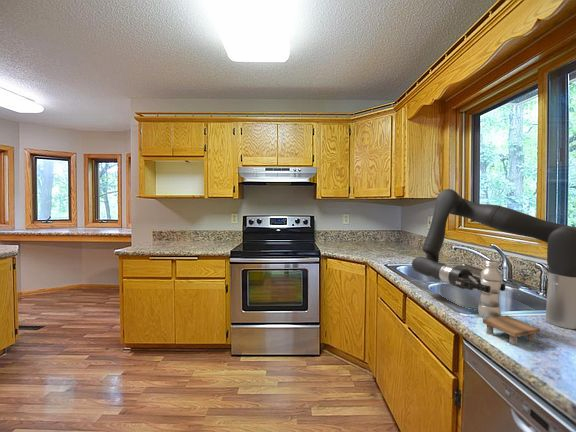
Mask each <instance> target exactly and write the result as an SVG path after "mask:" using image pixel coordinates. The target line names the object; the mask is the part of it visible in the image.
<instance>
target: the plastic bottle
mask: <svg viewBox="0 0 576 432" xmlns="http://www.w3.org/2000/svg"><path fill="white" fill-rule="evenodd" d="M498 268H499V261H498V260H496V259H495V260H494V259H486V260H484V268H483V269H482V270H481V271H480V274H479V277H480V282H481V284H484V285H487V286H490V293H487V292H484V291H481V290H480V296H479V303H478V307H477V311H478V314H479V316H480V317H482V318H483V319H487V318H494V317H500V316H501V314H502V311H501V306H500V304H501V302H500V297H501V296H500V293H501V290H500V288H501V284H503V274H502V273H501V271H500V270H499V269H498Z"/></svg>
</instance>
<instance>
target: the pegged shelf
mask: <svg viewBox="0 0 576 432" xmlns="http://www.w3.org/2000/svg"><path fill="white" fill-rule="evenodd" d="M482 323H483V324H485V325H486V334H487V335H494V329H496V330H498V331H499V332H503V333H505V334H507V335H509V343H508V344H509V345H511V346H514V347H516V346H518V337H523V336H524V337H525V336H526V341H527V342H530V343H536V334H539V333H541V328H540V327H537V326H533V325H532V324H529V323H527V322H524V321H521V320H519V319H516V318H514V317H512V316H511V317H510V316H508V315H502V316H501V315H500V317H494V318H487V319H486V318H483V319H482Z"/></svg>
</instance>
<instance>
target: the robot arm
mask: <svg viewBox="0 0 576 432" xmlns="http://www.w3.org/2000/svg"><path fill="white" fill-rule="evenodd" d="M435 199H436V200H435V204H434V208H433V209H434V211H433V214H432V218H431V221H430V226H429V230H428V232H427V235H426V237H425V240H424V243H423V245H422V248H421V249H422V252H423V253H424V254H425V255H426V257H424V256H417V257H414V259H413V260H412V262H411V266H412V269H413V270H414V271H415V272H416V273H419V274H421V275H423V276H426V277H429V278H430V277H431V278H434V279H435V280H438V281H441V282H444V283H446V284H448V285H451V286H454V287H457V288H458V289H463V290H464V289H465V290H469V291H473V290H474V291H480V292H481V291H484V292H487V293H490V286H487V285H484V284H481V282H480V275H477V274H476V275H475V274H474V275H473V273H472V271H471V270H470V269H469V268H464V267H460V266H455V265H451V264H446V263H443V262H440V261H439V260H440V259H439V258H440V252H441V249H442V246H443V244H444V241H445V237H446V230H447V229H446V228H447V222H448V217H449V215H454V216H458V217H462V218H466V219H469V220H472V221H474V222H476V223H479V224H481V225H484V226H486V227H489V228H491V229H495V230H497V231H501V232H503V233H507V234H511V235H516V236H521V237H522V236H523V237H527V238H531V239H532V238H533V239H536V240H539V241H542V242H544V243H546V244H547V245H546V248H547V250H546V252H547V253H546V259H547V260H546V263H547V266H548V274H547V291H546V293H547V294H546V307H545V321H546V322H548V323H549V324H552V325H553V326H556V327H560V328H564V329H569V330H576V226H572V225H566V224H561V223H557V222H552V221H549V220H545V219H541V218H538V217H535V216H533V215H530V214H527V213H525V212H522V211H519V210H516V209H513V208H509V207H506V206H502V205H498V204H490V203H489V204H488V203H477V202H473V201H472V200H468V199H466V198H463V197H461V195H460V194H459V193H458V192H456V191H455V190H454V189H451V188H445V189H443V190H442V191H440V192H439V193H438V194H437V196H436V198H435ZM504 291H506V284H503V283H502V284H501V288H500V292H504Z"/></svg>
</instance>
